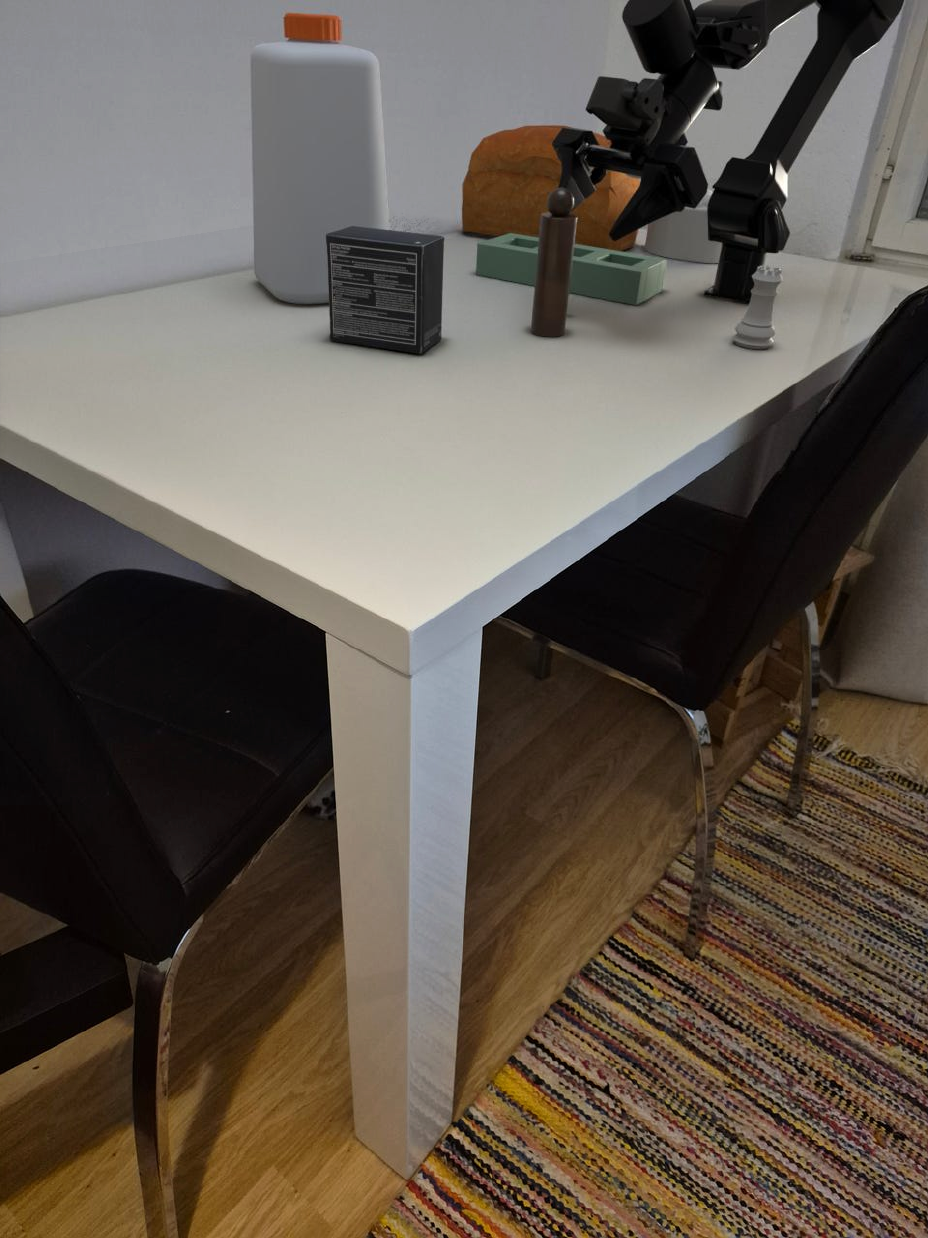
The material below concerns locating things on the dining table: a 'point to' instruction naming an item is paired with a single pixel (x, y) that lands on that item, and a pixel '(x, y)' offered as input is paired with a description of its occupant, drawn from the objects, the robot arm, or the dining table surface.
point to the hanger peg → (554, 265)
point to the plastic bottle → (313, 153)
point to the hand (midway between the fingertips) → (580, 229)
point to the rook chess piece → (759, 311)
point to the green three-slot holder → (576, 268)
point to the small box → (385, 288)
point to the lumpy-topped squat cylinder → (684, 235)
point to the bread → (537, 189)
